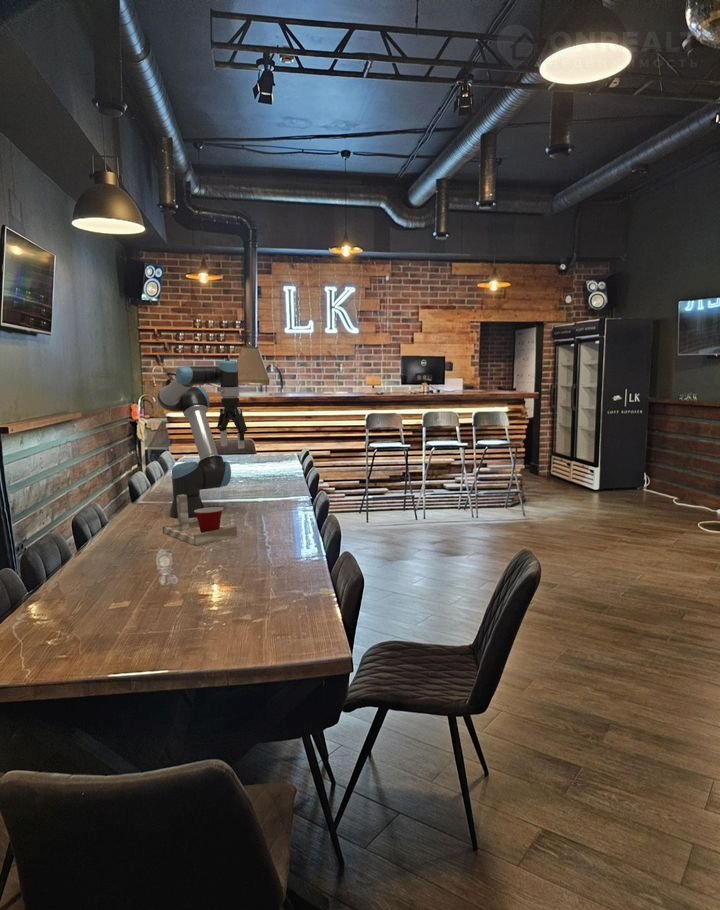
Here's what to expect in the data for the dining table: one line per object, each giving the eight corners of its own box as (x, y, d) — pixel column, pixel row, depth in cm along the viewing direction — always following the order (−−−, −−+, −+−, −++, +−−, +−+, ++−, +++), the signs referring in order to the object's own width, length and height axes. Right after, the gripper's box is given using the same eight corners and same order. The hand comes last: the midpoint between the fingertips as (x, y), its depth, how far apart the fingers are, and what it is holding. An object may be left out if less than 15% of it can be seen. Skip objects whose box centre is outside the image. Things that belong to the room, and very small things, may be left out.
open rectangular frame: (162, 532, 234) (159, 498, 232) (201, 524, 245) (199, 491, 244) (196, 546, 213) (194, 508, 211) (237, 536, 225) (235, 501, 223)
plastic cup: (223, 534, 230) (221, 504, 228) (226, 541, 220) (225, 509, 218) (194, 537, 226) (192, 507, 225) (197, 544, 216) (195, 512, 215)
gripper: (207, 397, 253) (210, 445, 256) (238, 398, 236) (240, 450, 238) (222, 396, 259) (225, 444, 261) (254, 397, 241) (256, 448, 244)
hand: (232, 447), depth 250 cm, fingers open, 13 cm apart
